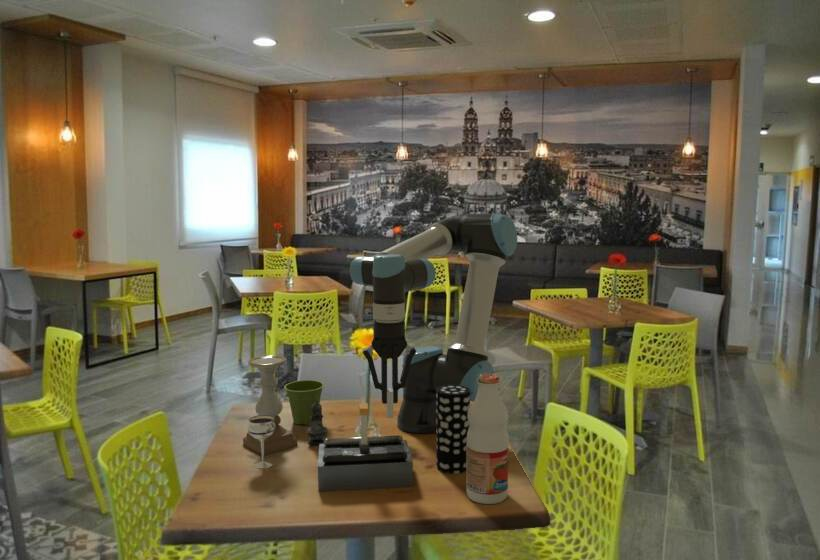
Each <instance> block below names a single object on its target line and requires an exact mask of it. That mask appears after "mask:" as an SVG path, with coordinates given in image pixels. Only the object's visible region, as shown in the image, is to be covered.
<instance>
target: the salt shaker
mask: <svg viewBox="0 0 820 560" xmlns="http://www.w3.org/2000/svg"><path fill="white" fill-rule="evenodd" d="M322 409H323V408H322V404H321V403H320V404H319V403H317V400H316V403H315V404H313V405H312V406H311V413H312V415H311V416H310V418H311V424H310V426H309V427H308V428H307V429H306V433H307V436H308V438H309V440H308V441H307V445H309V444H310V445H309V446H312V445H314V447H319V444H324V440H325V439H326V438H325V437H326V436H327V433H328V430H329V429H328V427H326V426H324V424H323V418H324V415H323V411H322ZM315 445H316V446H315Z"/></svg>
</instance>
